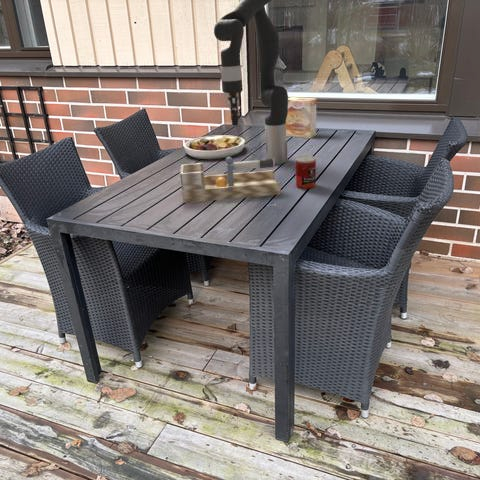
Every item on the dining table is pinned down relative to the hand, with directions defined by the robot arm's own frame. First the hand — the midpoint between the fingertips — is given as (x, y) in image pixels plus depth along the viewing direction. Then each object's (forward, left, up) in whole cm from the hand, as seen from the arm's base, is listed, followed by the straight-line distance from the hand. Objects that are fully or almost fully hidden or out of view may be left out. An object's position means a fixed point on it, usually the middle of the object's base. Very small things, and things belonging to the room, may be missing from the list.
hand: (234, 122), depth 184 cm
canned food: (-25, +11, -24) cm, 37 cm away
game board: (+4, +10, -24) cm, 26 cm away
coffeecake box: (-39, -67, -24) cm, 82 cm away
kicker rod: (-4, +10, -22) cm, 24 cm away
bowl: (+8, -49, -25) cm, 56 cm away
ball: (+7, +10, -21) cm, 24 cm away
